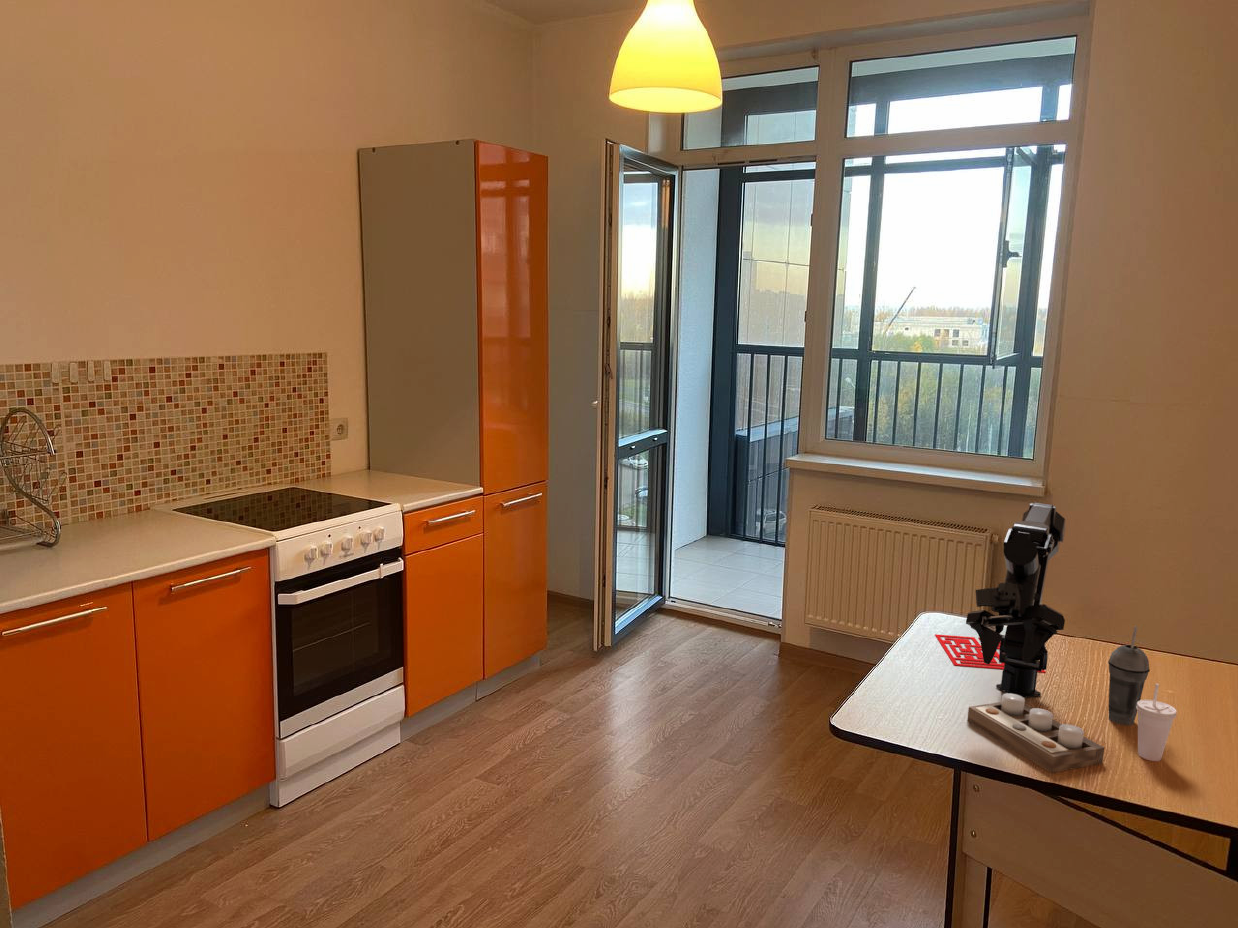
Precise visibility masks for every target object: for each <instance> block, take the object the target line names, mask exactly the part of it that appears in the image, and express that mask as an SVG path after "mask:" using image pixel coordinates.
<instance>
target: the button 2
mask: <svg viewBox="0 0 1238 928" xmlns="http://www.w3.org/2000/svg"><path fill="white" fill-rule="evenodd" d="M1084 733H1085V730H1084V729H1083V728H1081V727H1079V726H1077V725H1074V724H1068V723H1067V724H1065V723H1063V724H1062V725H1060V726H1059V734H1058V741H1057V743H1058V744H1060V745H1062V746H1064V747H1065V748H1067V749H1071V750H1076V749H1081V748H1082V742H1083V736H1084Z"/></svg>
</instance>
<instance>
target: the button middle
mask: <svg viewBox="0 0 1238 928" xmlns="http://www.w3.org/2000/svg"><path fill="white" fill-rule="evenodd" d="M1032 708H1033V709H1030V714H1029V722H1028V726H1029V727H1031V728H1032V729H1034V730H1036V731H1038V732H1048V731H1051V729H1052V721H1053V720H1054V714H1053V713H1052V712H1051V711H1049V710H1047V709H1044V708H1039V707H1035V708H1034V707H1032Z"/></svg>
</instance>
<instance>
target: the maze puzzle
mask: <svg viewBox="0 0 1238 928" xmlns="http://www.w3.org/2000/svg"><path fill="white" fill-rule="evenodd" d="M934 636H935V638H936V639H937V641H938V642H939V644H940V646H941V647H942V649H943V650H944V652H945V654H946V656H947V657H948V659H949V660H950V662H951V663H952V664H953V666H954V667H963V668H965V667H967V668H976V669H978V668H979V669H988V670H990V669H991V670H1002V671H1003V670H1004V664H1005V663H998V661H999V652H1000V643H999V645H998V648H997V650H998V651H999V652H998V651H997V650H996V652H995V655H994V657H993V659H992V661H991V663H990V664H986V663H984V660H983V654H982V648H981V643H979V641H980V638H979V637H978V640H979V641H978V640H977V638H976V637H974V636H960V635H949V634H938V633H937V634H934ZM942 638H944V639H942ZM970 640H971V641H972V642H973V644H972V642H971V641H970ZM952 641H953V642H954V644H953V642H952ZM962 644H963V645H964V647H963V646H962ZM947 645H948V646H949V647H950V649H951V651H952V652H953V654H954V655H953V654H952V652H951V651H950V649H949V648H948V646H947ZM956 648H958V649H959V651H958V650H957V649H956ZM972 648H974V650H975V652H974V651H973V649H972ZM962 656H963V657H962ZM974 656H975V657H976V658H975V657H974ZM995 658H997V660H998V661H997V660H996V659H995ZM957 661H959V663H958V662H957ZM1037 673H1040V674H1046V673H1047V671H1046V670H1042V671H1041V672H1040V671H1038V672H1037Z"/></svg>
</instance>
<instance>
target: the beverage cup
mask: <svg viewBox="0 0 1238 928" xmlns="http://www.w3.org/2000/svg"><path fill="white" fill-rule="evenodd" d="M1137 629H1138V626H1136V625H1134V627H1133V633H1132V639H1131V644H1124V645H1120V646H1118V647H1117V648H1115V649H1114V650H1113V651H1112V653H1111V654H1110V656H1109V659H1108V662H1107V663H1108V673H1109V684H1108V685H1109V686H1108V719H1109V721H1111V722H1112V723H1115V724H1118V725H1123V726H1132V725H1134V724H1135V720H1136V717H1137V716H1138V710H1137V708H1136V706H1137V702H1138V701H1140V700H1142V699H1141V697H1142V694H1143V690H1144V687H1145V683H1146V680H1147V678H1148V676H1149V672H1151V671H1150V661H1149V657H1148V656H1147V654H1146V652H1144V650H1143V649H1141V648H1139V647H1138V646H1135V643H1136V636H1137Z"/></svg>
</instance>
